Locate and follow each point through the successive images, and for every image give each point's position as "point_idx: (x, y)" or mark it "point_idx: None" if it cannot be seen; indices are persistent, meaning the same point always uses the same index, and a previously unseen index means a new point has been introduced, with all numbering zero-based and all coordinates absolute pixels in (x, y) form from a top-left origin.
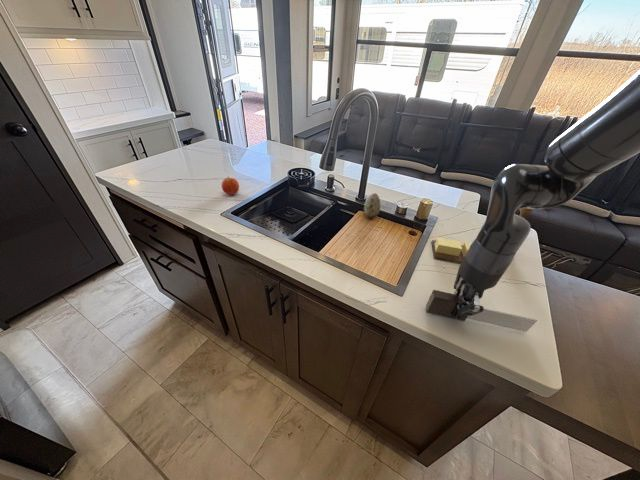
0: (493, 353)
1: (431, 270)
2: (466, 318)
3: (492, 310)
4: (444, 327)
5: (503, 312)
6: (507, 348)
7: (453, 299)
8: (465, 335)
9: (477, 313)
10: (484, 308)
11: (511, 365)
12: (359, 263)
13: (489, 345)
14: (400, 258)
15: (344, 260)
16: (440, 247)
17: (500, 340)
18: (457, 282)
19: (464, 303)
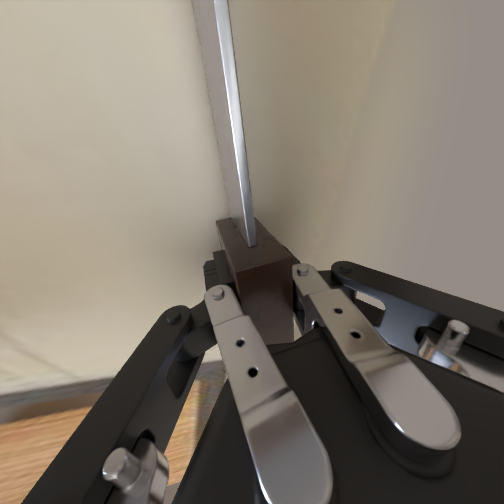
0: (339, 109)
1: (16, 348)
2: (255, 218)
3: (235, 123)
4: None
5: (216, 19)
6: (308, 30)
7: (284, 336)
8: (295, 203)
9: (431, 289)
10: (241, 179)
11: (374, 38)
12: (171, 446)
13: (312, 119)
14: (53, 423)
15: (182, 459)
16: None
17: (277, 57)
18: (189, 389)
19: (292, 299)
